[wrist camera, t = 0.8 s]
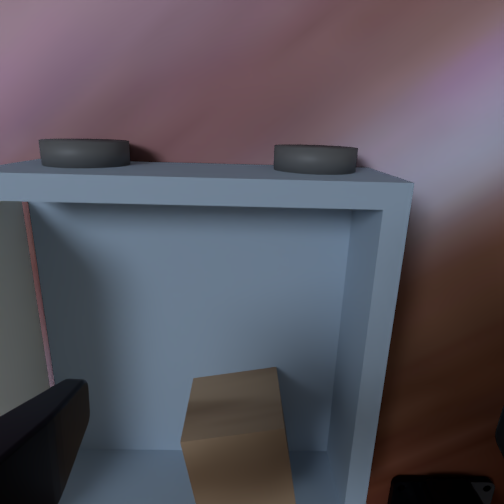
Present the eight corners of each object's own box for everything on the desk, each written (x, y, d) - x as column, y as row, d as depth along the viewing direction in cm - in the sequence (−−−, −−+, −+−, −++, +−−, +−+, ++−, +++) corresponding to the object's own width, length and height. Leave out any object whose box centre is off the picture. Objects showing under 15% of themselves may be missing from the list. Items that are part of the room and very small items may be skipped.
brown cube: (286, 434, 22) (296, 507, 18) (208, 444, 22) (199, 519, 18) (276, 366, 21) (284, 428, 17) (193, 378, 21) (179, 442, 17)
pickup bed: (335, 458, 25) (359, 546, 20) (78, 455, 24) (33, 545, 19) (370, 146, 19) (418, 154, 14) (35, 137, 19) (-46, 142, 13)
